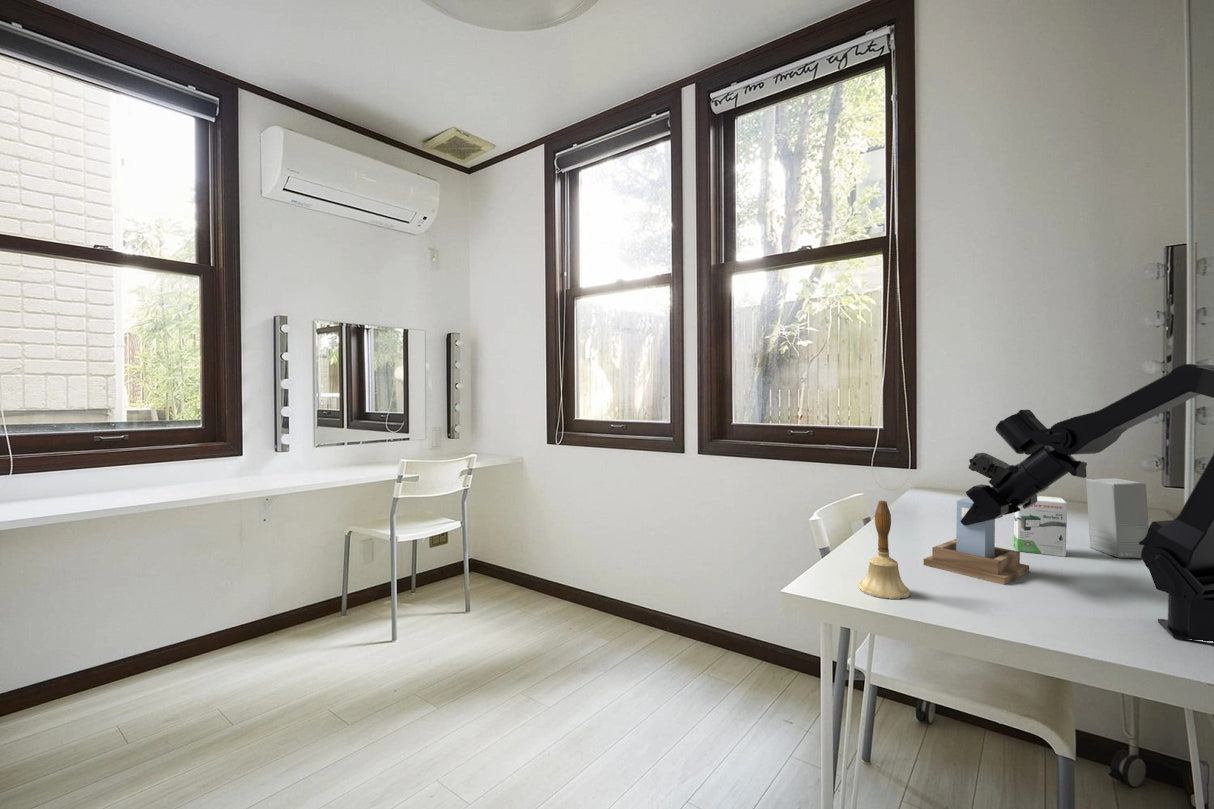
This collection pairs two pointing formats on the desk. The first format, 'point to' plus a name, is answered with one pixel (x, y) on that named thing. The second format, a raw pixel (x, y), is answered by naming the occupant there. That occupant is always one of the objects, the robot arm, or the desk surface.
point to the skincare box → (1117, 516)
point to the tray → (978, 563)
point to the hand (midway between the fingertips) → (968, 521)
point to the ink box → (1042, 527)
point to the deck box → (974, 533)
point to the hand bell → (883, 563)
